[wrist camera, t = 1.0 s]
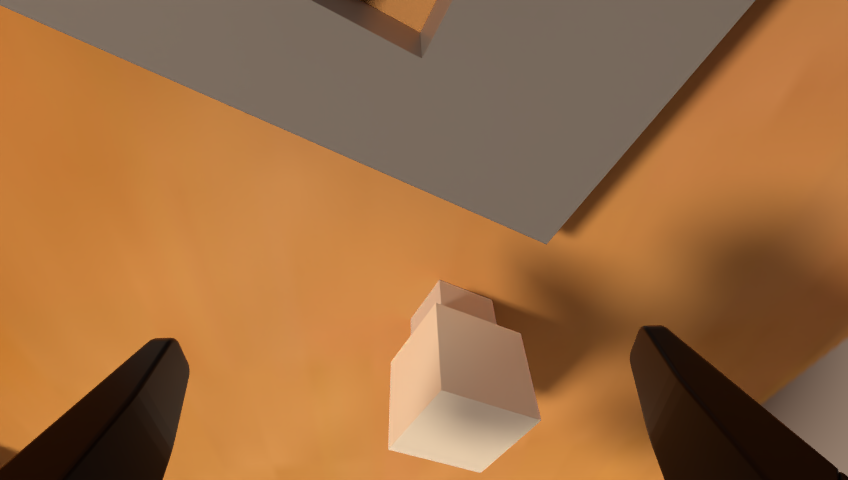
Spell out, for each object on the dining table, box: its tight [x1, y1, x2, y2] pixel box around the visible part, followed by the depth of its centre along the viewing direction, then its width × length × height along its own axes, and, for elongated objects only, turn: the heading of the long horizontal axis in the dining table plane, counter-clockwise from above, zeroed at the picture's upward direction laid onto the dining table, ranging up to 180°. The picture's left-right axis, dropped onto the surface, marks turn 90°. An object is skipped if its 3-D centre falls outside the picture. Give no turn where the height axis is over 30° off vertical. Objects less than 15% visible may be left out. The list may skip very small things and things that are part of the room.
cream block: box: [388, 280, 541, 473], centre depth 26 cm, size 5×5×8 cm
